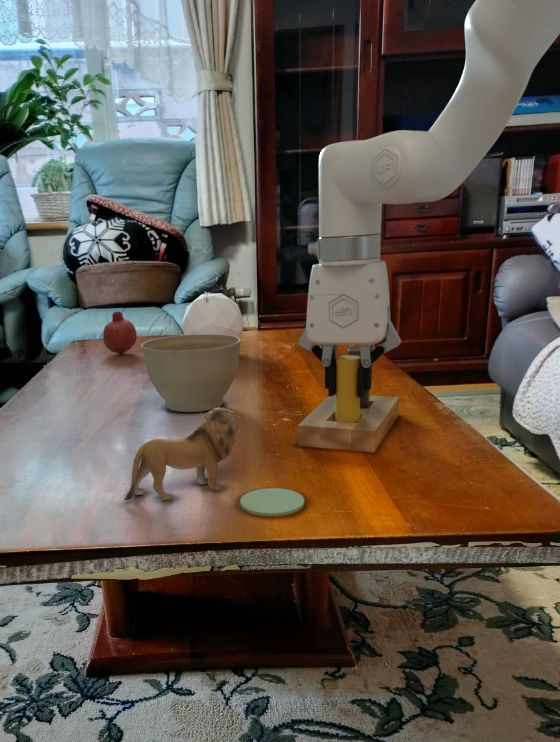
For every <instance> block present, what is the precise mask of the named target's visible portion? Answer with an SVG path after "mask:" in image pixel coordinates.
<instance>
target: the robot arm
mask: <svg viewBox="0 0 560 742" xmlns="http://www.w3.org/2000/svg"><path fill="white" fill-rule="evenodd" d="M559 35H560V0H475V1H474V2H473V4H472V5H471V6H470V8H469V9H468V11H467V14H466V17H465V20H464V42H465V45H464V46H465V62H464V68H463V70H462V74H461V77H460V80H459V83H458V85H457V87H456V88H455V91H454V93H453V94H452V97H451V98H450V100H449V101H448V103H447V104H446V105H445V107H444V109H443V110H442V111H441V113H440V115H439V116H438V117H437V118H436V120H435V122H434V123H433V125H432V126H431V127H430V128H429V130H427V131H426V130H425V131H424V130H409V129H408V130H407V129H402V130H401V129H399V130H394V131H389V132H386V133H383V134H380V135H377V136H375V137H371V138H368V139H362V140H361V139H360V140H358V139H357V140H347V141H340V142H335V143H331V144H328V145H326V146H325V147H324V148H322V150H321V151H320V154H319V156H318V238H316V239H317V241H315V242H314V243H309V244H308V245H307V253H308V255H310V256H311V255H313V256H316V257H317V261H318V263H316V264H312V267H311V271H310V277H309V285H308V295H307V304H306V305H307V307H306V326H305V328H304V330H303V332H302V334H301V335H300V336H299V337H300V338H299V339H298V345H299V346H301V347H302V348H303V349H305V350H307V351H310V352H311V353H312V354H313V355H314V356H315V357H316V359H318V361H320V362H321V365H322V366H323V368H324V388H325V389H326V390H327V389H328V390H327V392H328V393H327V395H328V397H329V396H334V395H335V394H336V358H337V352H338V351H337V350H338V346H343V345H345V346H359V347H360V353H361V362H360V367H359V368H358V369H357V397H359V398H363V397H364V396H365V395H366V393H367V390H371V389H372V381H373V379H372V378H373V377H372V376H373V375H372V374H373V364H374V363H375V362H376V361H377V360H378V359H379V358H381V356H383V355H384V354H386V353H388V352H390V351H392V350H394V349H396V348H397V347H399V346H400V345H401V343H402V340H401V337H400V336H399V334H398V331H397V330H396V328H395V326H394V325H393V322H392V321H391V302H390V301H391V300H390V286H389V285H390V283H389V276H388V270H387V269H388V268H387V264H386V260H381V243H382V242H381V241H382V240H381V239H382V237H381V236H382V235H381V233H382V208H383V207H382V206H383V205H382V204H384V205H409V204H416V203H431V202H436V201H440V200H442V199H444V198H446V197H448V196H450V194H452V193H453V192H454V191H456V190H457V189H458V187H460V186H461V185H462V184H463V183H464V182H465V180H467V178H468V177H469V176H470V175H471V173H472V172H473V171H474V170H475V169H476V167H477V166H478V165H479V164H480V163H481V161H482V160H483V158H484V157H485V156H486V155H487V154H488V152H489V151H490V150H491V148H492V147H493V146H494V144H495V143H496V142H497V140H499V138H500V136H501V135H502V133H503V132H504V130H505V128H506V127H507V125H508V123H509V121H510V119H511V118H512V116H513V114H514V112H515V110H516V108H517V106H518V104H519V102H520V100H521V99H522V96H523V95H524V93H525V91H526V89H527V86H528V83H529V81H530V79H531V76H532V74H533V72H534V69H535V68H536V66H537V65H538V63H539V61H540V60H541V59H542V58H543V56H544V55H545V54H546V52H547V51H548V50H549V49H550V47H551V46H552V44H553V43H554V41H556V39H557V38H558V37H559ZM383 340H385V341H383ZM382 341H383V342H382ZM380 342H382V343H380ZM378 343H379V344H378ZM377 344H378V345H377ZM375 345H377V346H376V347H375Z"/></svg>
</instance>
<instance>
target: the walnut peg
mask: <svg viewBox="0 0 560 742" xmlns="http://www.w3.org/2000/svg"><path fill="white" fill-rule="evenodd" d="M347 355H354V356H360V357H361V353H360V346H353V347H349V348H347ZM370 390H371V389H370ZM370 390H367V393H366V395H365V396H364V397H363V398H360V408H365V409H369V396H370Z"/></svg>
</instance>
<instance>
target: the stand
mask: <svg viewBox="0 0 560 742" xmlns="http://www.w3.org/2000/svg"><path fill="white" fill-rule="evenodd" d="M399 404H400V397H399V396H383V395H369V409H365V408H360V420H359V421H357V422H338V421H336V394H335V395H334V396H329V395H328V396H327V397H326V398H325V399H324V400H323V401H321V403H320V404H319V405H318V406H316V408H314V409H313V411H311V413H309V414H308V415H307V416H306V417H305V418H304V419H303V420H302V421H301V422H300V423H299V424H298V425H297V446H298V447H306V448H307V447H308V448H318V449H319V448H320V449H329V450H342V451H353V452H354V451H355V452H364V453H375V452H376V451H377V449H378V447H379V446H380V444H381V443H382V441H383V440H384V438H385V436H386V435H387V434H388V432H389V431H390V429H391V428H392V426H393V425H394V423H395V421H396V420H397V419H398V417H399V406H400V405H399Z"/></svg>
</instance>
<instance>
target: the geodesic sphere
mask: <svg viewBox="0 0 560 742" xmlns="http://www.w3.org/2000/svg"><path fill="white" fill-rule="evenodd" d="M244 327H245V320H244V317H243V314H242V312H241V309H240V306H239V304H238V303H236V302H235V301H234V300H233V299H231V298H229V297H228V296H226V295H225V294H224V293H222V292H221V293H220V292H219V293H212V292H209V291H208V292H207V291H204V293H202V294H200V295H199V296H198V297H197V298H195V299H194V300H193V301H191V303H189V304H188V305H187V306H186V307H185V311H184V315H183V319H182V323H181V329H182V332H183V335H191V334H220V335H231V336H236V337H238V338H240V339H241V337H242V335H243V330H244Z"/></svg>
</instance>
